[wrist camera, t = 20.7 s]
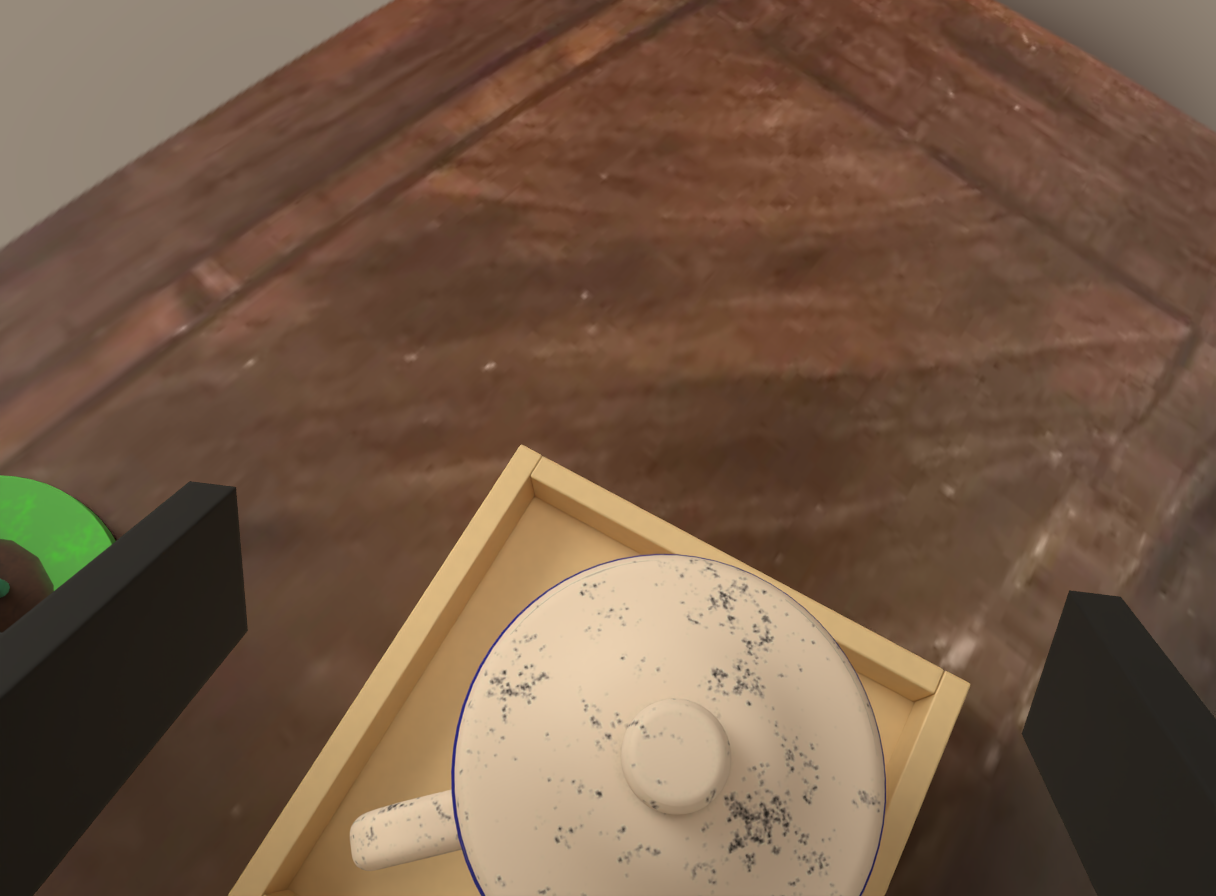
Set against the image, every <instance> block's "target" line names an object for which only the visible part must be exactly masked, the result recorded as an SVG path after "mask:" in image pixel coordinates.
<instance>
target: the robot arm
mask: <svg viewBox="0 0 1216 896" xmlns="http://www.w3.org/2000/svg"><path fill="white" fill-rule="evenodd" d="M247 631H248V629H247V616H246V604H245V592H244V580H243V568H242V556H241V544H240V532H239V520H238V507H237V495H236V487H231V486H223V485H215V484H207V483H199V482H191V481H190V482H189V483H187V484H186V485H185V486H184V487H182V488H181V489H180V490H179V491H177V492H176V493H175V494H174V495H172V496H171V497H170V498H169V499H167V500H166V501H165V502H164V503H162V504H161V505H160V506H159V507H158V508H156V509H155V510H154V511H153V512H151V513H150V514H149V515H148V516H146V517H145V518H144V519H143V520H141V521H140V522H139V523H138V524H136V525H135V526H134V527H133V528H132V529H130V530H129V531H128V532H127V533H125V534H124V535H123V536H122V537H120V538H119V539H118V540H117V541H115V542H114V543H113V544H112V545H110V546H109V547H108V548H107V549H106V550H104V551H103V552H102V553H101V554H99V555H98V556H97V557H96V558H94V559H93V560H92V561H91V562H89V563H88V564H87V565H86V566H84V567H83V568H82V569H81V570H80V571H78V572H77V573H76V574H75V575H73V576H72V577H71V578H70V579H68V580H67V581H66V582H65V583H63V584H62V585H61V586H60V587H58V588H57V589H56V590H55V591H54V592H52V593H51V594H50V595H49V596H47V597H46V598H45V599H44V600H42V601H41V602H40V603H39V604H37V605H36V606H35V607H34V608H32V609H31V610H30V611H29V612H28V613H26V614H25V615H24V616H23V617H21V618H20V619H19V620H18V621H16V622H15V623H14V624H13V625H11V626H10V627H9V628H8V629H6V630H5V631H4V632H3V633H1V632H0V896H33V895H34V894H35V892H36V891H37V890H38V889H39V888H40V886H41V885H42V884H43V883H44V881H45V880H46V879H47V878H48V876H49V875H50V874H51V873H52V872H53V870H54V869H55V868H56V867H57V865H58V864H59V863H60V862H61V860H62V859H63V858H64V857H65V855H66V854H67V853H68V852H69V851H70V849H71V848H72V847H73V846H74V844H75V843H76V842H77V841H78V839H79V838H80V837H81V836H82V834H83V833H84V832H85V831H86V830H87V828H88V827H89V826H90V825H91V823H92V822H93V821H94V820H95V818H96V817H97V816H98V815H99V814H100V812H101V811H102V810H103V809H104V807H105V806H106V805H107V804H108V802H109V801H110V800H111V799H112V797H113V796H114V795H115V794H116V793H117V791H118V790H119V789H120V788H121V786H122V785H123V784H124V783H125V781H126V780H127V779H128V778H129V777H130V775H131V774H132V773H133V772H134V770H135V769H136V768H137V767H138V765H139V764H140V763H141V762H142V760H143V759H144V758H145V757H146V756H147V754H148V753H149V752H150V751H151V749H152V748H153V747H154V746H155V744H156V743H157V742H158V741H159V739H160V738H161V737H162V736H163V735H164V733H165V732H166V731H167V730H168V728H169V727H170V726H171V725H172V723H173V722H174V721H175V720H176V719H177V717H178V716H179V715H180V714H181V712H182V711H183V710H184V709H185V707H186V706H187V705H188V704H189V702H190V701H191V700H192V699H193V698H194V696H195V695H196V694H197V693H198V691H199V690H200V689H201V688H202V686H203V685H204V684H205V683H206V682H207V680H208V679H209V678H210V677H211V675H212V674H213V673H214V672H215V670H216V669H217V668H218V667H219V665H220V664H221V663H222V662H223V661H224V659H225V658H226V657H227V656H228V654H229V653H230V652H231V651H232V649H233V648H234V647H235V646H236V645H237V643H238V642H239V641H240V640H241V638H242V637H243V636H244V635H245V633H246V632H247ZM1022 735H1023V738H1024V740H1025V742H1026V744H1027V746H1028V748H1029V750H1030V752H1031V755H1032V757H1033V759H1034V761H1035V763H1036V765H1037V767H1038V770H1039V772H1040V774H1041V776H1042V778H1043V780H1044V782H1045V785H1046V787H1047V789H1048V791H1049V793H1050V795H1051V797H1052V799H1053V802H1054V804H1055V806H1056V808H1057V810H1058V812H1059V814H1060V817H1061V819H1062V821H1063V823H1064V825H1065V827H1066V829H1067V831H1068V834H1069V836H1070V838H1071V840H1072V842H1073V844H1074V846H1075V849H1076V851H1077V853H1078V855H1079V857H1080V859H1081V861H1082V863H1083V866H1084V868H1085V870H1086V872H1087V874H1088V876H1089V878H1090V881H1091V883H1092V885H1093V887H1094V889H1095V891H1096V893H1097V895H1098V896H1216V719H1215V718H1214V717H1213V715H1212V714H1211V713H1210V711H1209V710H1208V709H1207V707H1206V706H1205V705H1204V704H1203V702H1202V701H1201V700H1200V698H1199V697H1198V696H1197V695H1196V693H1195V692H1194V691H1193V689H1192V688H1191V687H1190V686H1189V684H1188V683H1187V682H1186V680H1185V679H1184V678H1183V676H1182V675H1181V674H1180V673H1179V671H1178V670H1177V669H1176V667H1175V666H1174V665H1173V664H1172V662H1171V661H1170V660H1169V658H1168V657H1167V656H1166V655H1165V653H1164V652H1163V651H1162V649H1161V648H1160V647H1159V646H1158V644H1157V643H1156V642H1155V640H1154V639H1153V638H1152V636H1151V635H1150V634H1149V633H1148V631H1147V630H1146V629H1145V627H1144V626H1143V625H1142V624H1141V622H1140V621H1139V620H1138V618H1137V617H1136V616H1135V615H1134V613H1133V612H1132V611H1131V609H1130V608H1129V607H1128V605H1127V604H1126V603H1125V602H1124V600H1123V599H1122V598H1121V597H1118V596H1110V595H1102V594H1094V593H1086V592H1077V591H1069V593H1068V596H1067V599H1066V602H1065V605H1064V608H1063V611H1062V614H1061V617H1060V620H1059V623H1058V626H1057V629H1056V632H1055V635H1054V638H1053V641H1052V644H1051V647H1050V650H1049V653H1048V656H1047V659H1046V663H1045V666H1044V669H1043V672H1042V675H1041V678H1040V681H1039V684H1038V687H1037V690H1036V693H1035V696H1034V699H1033V702H1032V705H1031V708H1030V711H1029V714H1028V717H1027V720H1026V723H1025V726H1024V729H1023V732H1022Z"/></svg>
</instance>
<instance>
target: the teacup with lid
mask: <svg viewBox="0 0 1216 896" xmlns="http://www.w3.org/2000/svg"><path fill="white" fill-rule="evenodd" d="M885 807H886V773H885V762H884V754H883V748H882V743H881V737H880V733H879V729H878V726H877V722H876V719H875V715H874V712H873V709H872V707H871V704H870V701H869V699H868V696H867V693H866V691H865V689H864V687H863V685H862V683H861V681H860V679H859V677H858V675H857V673H856V671H855V670H854V668H853V666H852V665H851V663H850V661H849V660H848V658H847V656H846V655H845V653H844V652H843V651H842V649H841V648H840V646H839V645H838V644H837V642H836V641H835V640H834V638H833V637H832V636H831V635H830V634H829V632H828V631H827V630H826V629H825V628H824V627H823V626H822V624H821V623H820V622H819V621H818V620H817V619H816V618H815V617H814V616H813V615H812V614H810V613H809V612H808V611H807V610H806V609H805V608H804V607H803V606H802V605H800V604H799V603H798V602H797V601H795V600H794V599H793V598H792V597H790V596H789V595H788V594H786V593H785V592H783V591H782V590H780V589H778V588H777V587H775V586H774V585H772V584H771V583H769V582H767V581H765V580H763V579H761V578H759V577H758V576H756V575H754V574H752V573H749V572H747V571H744V570H742V569H740V568H737V567H735V566H732V565H728V564H725V563H722V562H719V561H715V560H711V559H706V558H701V557H696V556H688V555H679V554H650V555H637V556H632V557H626V558H620V559H616V560H612V561H609V562H605V563H602V564H598V565H596V566H593V567H591V568H588V569H585V570H583V571H580V572H578V573H576V574H574V575H572V576H570V577H568V578H566V579H564V580H563V581H561V582H559V583H558V584H556V585H555V586H553V587H551V588H550V589H548V590H547V591H545V592H544V593H543V594H541V595H540V596H539V597H537V598H536V599H535V600H533V601H532V602H531V603H530V604H529V605H528V606H527V607H525V608H524V609H523V610H522V611H521V612H520V613H519V614H518V615H517V616H516V617H515V618H514V619H513V620H512V621H511V622H510V623H509V625H508V626H507V627H506V628H505V629H504V630H503V631H502V633H501V634H500V635H499V637H498V638H497V639H496V641H495V642H494V643H493V645H492V646H491V648H490V649H489V651H488V652H487V654H486V656H485V657H484V659H483V661H482V662H481V664H480V666H479V668H478V670H477V672H476V674H475V676H474V678H473V680H472V682H471V684H470V687H469V689H468V692H467V695H466V697H465V700H464V703H463V705H462V709H461V713H460V716H459V720H458V724H457V728H456V734H455V740H454V745H453V755H452V767H451V790H447V791H443V792H439V793H435V794H431V795H427V796H423V797H419V798H415V799H411V800H407V801H403V802H399V803H395V804H392V805H388V806H385V807H382V808H378V809H375V810H372V811H369V812H367V813H365V814H363V815H361V816H360V817H358V818H357V819H356V820H355V822H354V823H353V824H352V826H351V829H350V844H351V852H352V858H353V861H354V863H355V865H356V866H357V867H359V868H360V869H362V870H365V871H375V870H379V869H384V868H388V867H392V866H397V865H401V864H405V863H409V862H414V861H418V860H422V859H426V858H430V857H434V856H438V855H443V854H447V853H451V852H455V851H459V850H462V852H463V855H464V859H465V862H466V864H467V866H468V869H469V871H470V874H471V876H472V879H473V881H474V883H475V885H476V887H477V889H478V891H479V893H480V895H481V896H862V894H863V892H864V890H865V887H866V885H867V883H868V880H869V878H870V875H871V873H872V870H873V867H874V864H875V861H876V857H877V854H878V851H879V847H880V842H881V837H882V832H883V827H884V818H885Z"/></svg>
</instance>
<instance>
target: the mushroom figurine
mask: <svg viewBox="0 0 1216 896" xmlns="http://www.w3.org/2000/svg"><path fill="white" fill-rule="evenodd" d="M114 542H115V539H114V537H113V536H112V534H111V532H110V531H109V529H108V528H107V527H106V526H105V524H104V523H103V522H102V521H101V519H100V518H99V517H97V516H96V515H95V514H94V513H93V512H92V511H91V510H90V509H89V508H88V507H86V506H85V505H84V504H82V503H81V502H80V501H78V500H76V499H75V498H73V497H71V496H70V495H68V494H66V493H64V492H63V491H61V490H59V489H57V488H55V487H52V486H50V485H47V484H45V483H42V482H38V481H35V480H31V479H26V478H20V477H15V476H0V632H1V633H3V632H4V631H5V630H6V629H8V628H9V627H10V626H11V625H13V624H14V623H15V622H16V621H18V620H19V619H20V618H21V617H23V616H24V615H25V614H26V613H28V612H29V611H30V610H31V609H32V608H34V607H35V606H36V605H37V604H39V603H40V602H41V601H42V600H44V599H45V598H46V597H47V596H49V595H50V594H51V593H52V592H54V591H55V590H56V589H57V588H58V587H60V586H61V585H62V584H63V583H65V582H66V581H67V580H68V579H70V578H71V577H72V576H73V575H75V574H76V573H77V572H78V571H80V570H81V569H82V568H83V567H84V566H86V565H87V564H88V563H89V562H91V561H92V560H93V559H94V558H96V557H97V556H98V555H99V554H101V553H102V552H103V551H104V550H106V549H107V548H108V547H109V546H110V545H112V544H113V543H114Z"/></svg>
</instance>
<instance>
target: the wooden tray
mask: <svg viewBox="0 0 1216 896" xmlns="http://www.w3.org/2000/svg"><path fill="white" fill-rule="evenodd" d="M650 554H679V555H688V556H696V557H701V558H706V559H711V560H715V561H719V562H722V563H725V564H728V565H732V566H735V567H737V568H740V569H742V570H744V571H747V572H749V573H752V574H754V575H756V576H758V577H759V578H761V579H763V580H765V581H767V582H769V583H771V584H772V585H774V586H775V587H777V588H778V589H780V590H782V591H783V592H785V593H786V594H788V595H789V596H790V597H792V598H793V599H794V600H795V601H797V602H798V603H799V604H800V605H802V606H803V607H804V608H805V609H806V610H807V611H808V612H809V613H810V614H812V615H813V616H814V617H815V618H816V619H817V620H818V621H819V622H820V623H821V624H822V626H823V627H824V628H825V629H826V630H827V631H828V632H829V634H830V635H831V636H832V637H833V638H834V640H835V641H836V642H837V644H838V645H839V646H840V648H841V649H842V651H843V652H844V653H845V655H846V656H847V658H848V660H849V661H850V663H851V665H852V666H853V668H854V670H855V671H856V673H857V675H858V677H859V679H860V681H861V683H862V685H863V687H864V689H865V691H866V693H867V696H868V699H869V701H870V704H871V707H872V709H873V712H874V715H875V719H876V722H877V726H878V729H879V733H880V737H881V743H882V748H883V754H884V762H885V773H886V807H885V818H884V827H883V832H882V837H881V842H880V847H879V851H878V854H877V857H876V861H875V864H874V867H873V870H872V873H871V875H870V878H869V880H868V883H867V885H866V887H865V890H864V892H863V894H862V896H885V894H886V891H887V889H888V886H889V884H890V881H891V879H892V876H893V874H894V872H895V869H896V867H897V864H898V862H899V859H900V857H901V854H902V852H903V849H904V847H905V845H906V842H907V840H908V837H909V835H910V832H911V830H912V827H913V825H914V823H915V820H916V818H917V815H918V813H919V810H920V808H921V805H922V803H923V801H924V798H925V796H926V793H927V791H928V788H929V786H930V783H931V781H932V779H933V776H934V774H935V771H936V769H937V766H938V764H939V761H940V759H941V757H942V754H943V752H944V749H945V747H946V744H947V742H948V739H949V737H950V734H951V732H952V730H953V727H954V725H955V722H956V720H957V717H958V715H959V712H960V710H961V708H962V705H963V703H964V700H965V698H966V695H967V693H968V690H969V688H970V683H968V682H966V681H964V680H963V679H961V678H959V677H957V676H955V675H953V674H951V673H949V672H948V671H944V670H943V669H942V668H940V667H938V666H936V665H934V664H932V663H930V662H929V661H927V660H925V659H923V658H921V657H919V656H917V655H915V654H914V653H912V652H910V651H908V650H906V649H904V648H902V647H900V646H898V645H897V644H895V643H893V642H891V641H889V640H887V639H885V638H883V637H882V636H880V635H878V634H876V633H874V632H872V631H870V630H868V629H867V628H865V627H863V626H861V625H859V624H857V623H855V622H853V621H852V620H850V619H848V618H846V617H844V616H842V615H840V614H838V613H837V612H835V611H833V610H831V609H829V608H827V607H825V606H823V605H821V604H820V603H818V602H816V601H814V600H812V599H810V598H808V597H806V596H805V595H803V594H801V593H799V592H797V591H795V590H793V589H791V588H790V587H788V586H786V585H784V584H782V583H780V582H778V581H776V580H775V579H773V578H771V577H769V576H767V575H765V574H763V573H761V572H760V571H758V570H756V569H754V568H752V567H750V566H748V565H746V564H745V563H743V562H741V561H739V560H737V559H735V558H733V557H731V556H729V555H728V554H726V553H724V552H722V551H720V550H718V549H716V548H714V547H713V546H711V545H709V544H707V543H705V542H703V541H701V540H699V539H698V538H696V537H694V536H692V535H690V534H688V533H686V532H684V531H683V530H681V529H679V528H677V527H675V526H673V525H671V524H669V523H668V522H666V521H664V520H662V519H660V518H658V517H656V516H654V515H652V514H651V513H649V512H647V511H645V510H643V509H641V508H639V507H637V506H636V505H634V504H632V503H630V502H628V501H626V500H624V499H622V498H621V497H619V496H617V495H615V494H613V493H611V492H609V491H607V490H606V489H604V488H602V487H600V486H598V485H596V484H594V483H592V482H591V481H589V480H587V479H585V478H583V477H581V476H579V475H577V474H576V473H574V472H572V471H570V470H568V469H566V468H564V467H562V466H560V465H559V464H557V463H555V462H553V461H551V460H549V459H547V458H545V457H542V455H540V454H538V453H537V452H535V451H533V450H531V449H529V448H527V447H525V446H523V445H520V446H519V448H518V450H517V451H516V453H515V454H514V456H513V457H512V459H511V460H510V462H509V463H508V465H507V467H506V468H505V470H504V471H503V473H502V474H501V476H500V477H499V479H498V480H497V482H496V483H495V485H494V487H493V488H492V490H491V491H490V493H489V494H488V496H487V497H486V499H485V500H484V502H483V503H482V505H481V507H480V508H479V510H478V511H477V513H476V514H475V516H474V517H473V519H472V520H471V522H470V523H469V525H468V527H467V528H466V530H465V531H464V533H463V534H462V536H461V537H460V539H459V540H458V542H457V543H456V545H455V547H454V548H453V550H452V551H451V553H450V554H449V556H448V557H447V559H446V560H445V562H444V563H443V565H442V567H441V568H440V570H439V571H438V573H437V574H436V576H435V577H434V579H433V580H432V582H431V583H430V585H429V587H428V588H427V590H426V591H425V593H424V594H423V596H422V597H421V599H420V600H419V602H418V603H417V605H416V607H415V608H414V610H413V611H412V613H411V614H410V616H409V617H408V619H407V620H406V622H405V624H404V625H403V627H402V628H401V630H400V631H399V633H398V634H397V636H396V637H395V639H394V640H393V642H392V644H391V645H390V647H389V648H388V650H387V651H386V653H385V654H384V656H383V657H382V659H381V660H380V662H379V664H378V665H377V667H376V668H375V670H374V671H373V673H372V674H371V676H370V677H369V679H368V680H367V682H366V684H365V685H364V687H363V688H362V690H361V691H360V693H359V694H358V696H357V697H356V699H355V700H354V702H353V704H352V705H351V707H350V708H349V710H348V711H347V713H346V714H345V716H344V717H343V719H342V720H341V722H340V724H339V725H338V727H337V728H336V730H335V731H334V733H333V734H332V736H331V737H330V739H329V740H328V742H327V744H326V745H325V747H324V748H323V750H322V751H321V753H320V754H319V756H318V757H317V759H316V760H315V762H314V764H313V765H312V767H311V768H310V770H309V771H308V773H307V774H306V776H305V777H304V779H303V781H302V782H301V784H300V785H299V787H298V788H297V790H296V791H295V793H294V794H293V796H292V797H291V799H290V801H289V802H288V804H287V805H286V807H285V808H284V810H283V811H282V813H281V814H280V816H279V817H278V819H277V821H276V822H275V824H274V825H273V827H272V828H271V830H270V831H269V833H268V834H267V836H266V837H265V839H264V841H263V842H262V844H261V845H260V847H259V848H258V850H257V851H256V853H255V854H254V856H253V857H252V859H251V861H250V862H249V864H248V865H247V867H246V868H245V870H244V871H243V873H242V874H241V876H240V877H239V879H238V881H237V882H236V884H235V885H234V887H233V888H232V890H231V891H230V893H229V894H228V896H481V895H480V893H479V891H478V889H477V887H476V885H475V883H474V881H473V879H472V876H471V874H470V871H469V869H468V866H467V864H466V862H465V859H464V855H463V852H462V850H459V851H455V852H451V853H447V854H443V855H438V856H434V857H430V858H426V859H422V860H418V861H414V862H409V863H405V864H401V865H397V866H392V867H388V868H384V869H379V870H375V871H365V870H362V869H360V868H359V867H357V866H356V865H355V863H354V861H353V858H352V852H351V844H350V829H351V826H352V824H353V823H354V822H355V820H356V819H357V818H358V817H360V816H361V815H363V814H365V813H367V812H369V811H372V810H375V809H378V808H382V807H385V806H388V805H392V804H395V803H399V802H403V801H407V800H411V799H415V798H419V797H423V796H427V795H431V794H435V793H439V792H443V791H447V790H451V767H452V755H453V745H454V740H455V734H456V728H457V724H458V720H459V716H460V713H461V709H462V705H463V703H464V700H465V697H466V695H467V692H468V689H469V687H470V684H471V682H472V680H473V678H474V676H475V674H476V672H477V670H478V668H479V666H480V664H481V662H482V661H483V659H484V657H485V656H486V654H487V652H488V651H489V649H490V648H491V646H492V645H493V643H494V642H495V641H496V639H497V638H498V637H499V635H500V634H501V633H502V631H503V630H504V629H505V628H506V627H507V626H508V625H509V623H510V622H511V621H512V620H513V619H514V618H515V617H516V616H517V615H518V614H519V613H520V612H521V611H522V610H523V609H524V608H525V607H527V606H528V605H529V604H530V603H531V602H532V601H533V600H535V599H536V598H537V597H539V596H540V595H541V594H543V593H544V592H545V591H547V590H548V589H550V588H551V587H553V586H555V585H556V584H558V583H559V582H561V581H563V580H564V579H566V578H568V577H570V576H572V575H574V574H576V573H578V572H580V571H583V570H585V569H588V568H591V567H593V566H596V565H598V564H602V563H605V562H609V561H612V560H616V559H620V558H626V557H632V556H637V555H650Z"/></svg>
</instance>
